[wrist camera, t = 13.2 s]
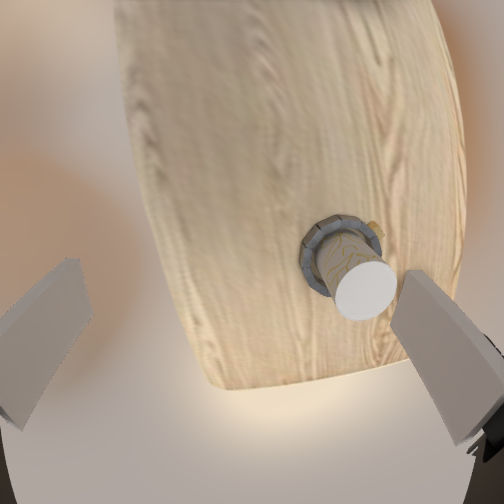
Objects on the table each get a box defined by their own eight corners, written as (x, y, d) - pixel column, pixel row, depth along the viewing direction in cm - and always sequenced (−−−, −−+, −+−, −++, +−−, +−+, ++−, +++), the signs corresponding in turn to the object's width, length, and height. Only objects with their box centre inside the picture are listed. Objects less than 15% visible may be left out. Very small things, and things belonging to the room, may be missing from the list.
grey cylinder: (349, 218, 40) (384, 248, 29) (370, 259, 43) (403, 297, 31) (304, 246, 42) (323, 286, 30) (328, 285, 44) (350, 331, 33)
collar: (306, 211, 39) (309, 215, 37) (382, 220, 40) (388, 224, 38) (294, 287, 44) (296, 295, 42) (364, 290, 45) (369, 297, 42)
